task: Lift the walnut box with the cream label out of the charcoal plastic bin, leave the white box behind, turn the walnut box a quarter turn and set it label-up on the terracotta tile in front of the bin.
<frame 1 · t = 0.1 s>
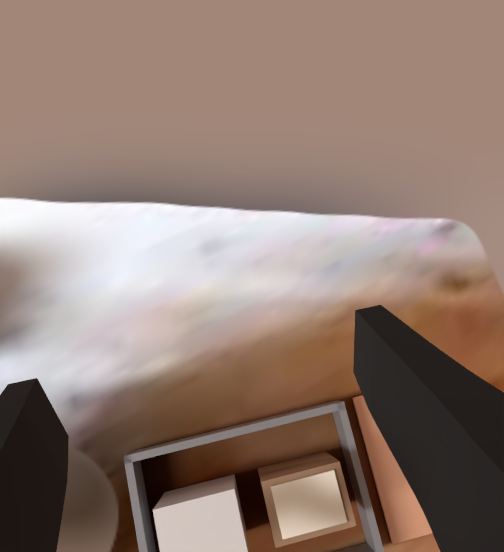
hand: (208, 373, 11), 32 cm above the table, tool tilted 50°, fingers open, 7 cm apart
tile: (420, 454, 41), on the table
white box: (205, 511, 40), resting in bin
bin: (251, 499, 40), on the table
walnut box: (297, 486, 40), resting in bin
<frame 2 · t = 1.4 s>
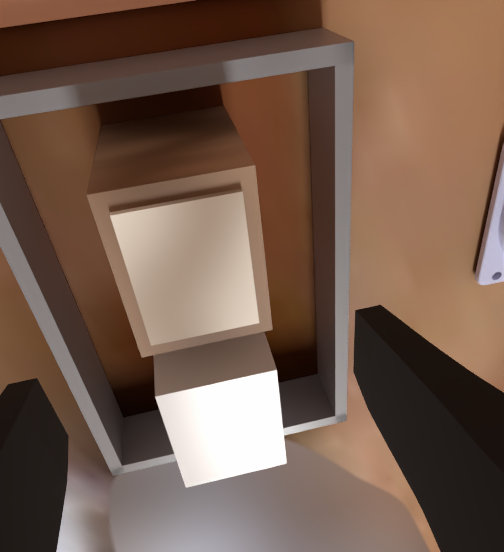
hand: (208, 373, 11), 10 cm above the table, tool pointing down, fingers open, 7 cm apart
white box: (209, 334, 24), resting in bin
bin: (196, 271, 21), on the table
walnut box: (178, 189, 19), resting in bin
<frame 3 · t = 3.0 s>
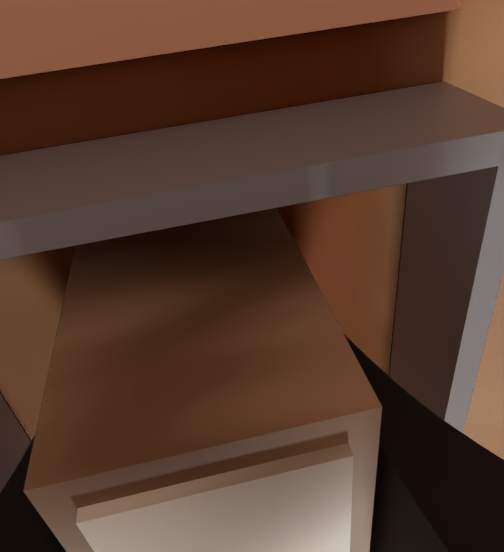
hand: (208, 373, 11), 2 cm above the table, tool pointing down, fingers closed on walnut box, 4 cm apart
bin: (221, 417, 15), on the table
walnut box: (199, 320, 12), resting in bin, touching gripper
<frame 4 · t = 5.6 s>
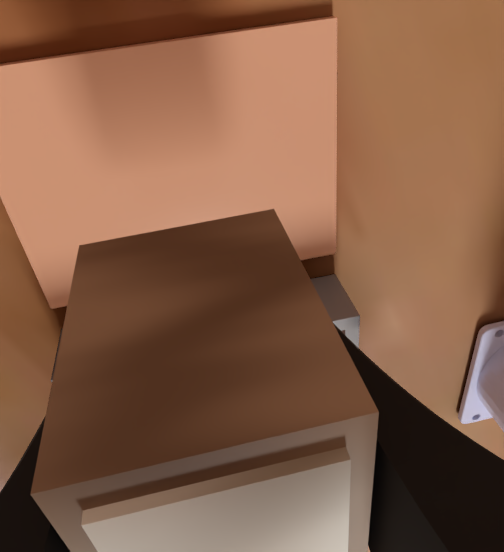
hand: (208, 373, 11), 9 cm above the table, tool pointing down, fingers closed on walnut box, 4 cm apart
tile: (176, 176, 17), on the table
bin: (228, 428, 26), on the table
walnut box: (200, 324, 13), point 7 cm above the table, touching gripper
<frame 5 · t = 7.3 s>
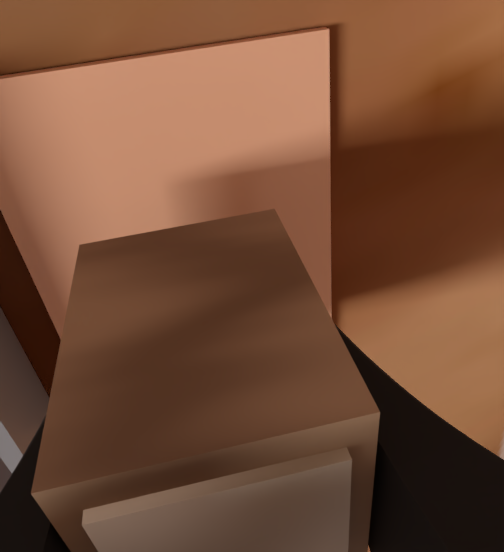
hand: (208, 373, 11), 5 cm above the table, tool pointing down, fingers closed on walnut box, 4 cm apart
tile: (189, 260, 15), on the table
walnut box: (200, 324, 13), point 3 cm above the table, touching gripper
when the fingers open (3 cm above the table, at t = 8.5 s): walnut box stays where it is, resting on tile.
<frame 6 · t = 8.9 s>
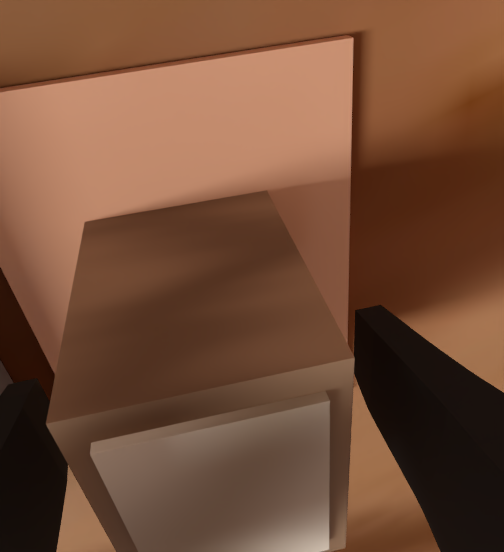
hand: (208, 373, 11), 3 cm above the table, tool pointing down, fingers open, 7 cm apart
tile: (194, 287, 14), on the table
walnut box: (197, 300, 13), resting on tile
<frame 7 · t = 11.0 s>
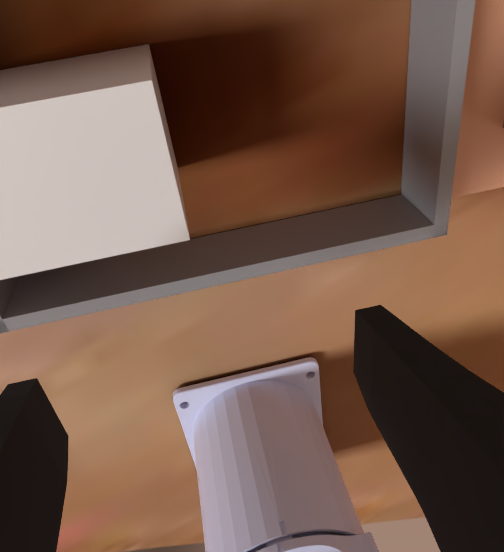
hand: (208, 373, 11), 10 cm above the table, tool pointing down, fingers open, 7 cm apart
white box: (83, 125, 17), resting in bin
bin: (191, 105, 18), on the table
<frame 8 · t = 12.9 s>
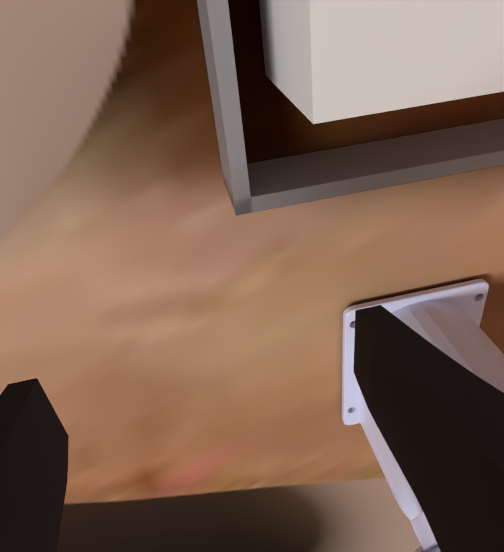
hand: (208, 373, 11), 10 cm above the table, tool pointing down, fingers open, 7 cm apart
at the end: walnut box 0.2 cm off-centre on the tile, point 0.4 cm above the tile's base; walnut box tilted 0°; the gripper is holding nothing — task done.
